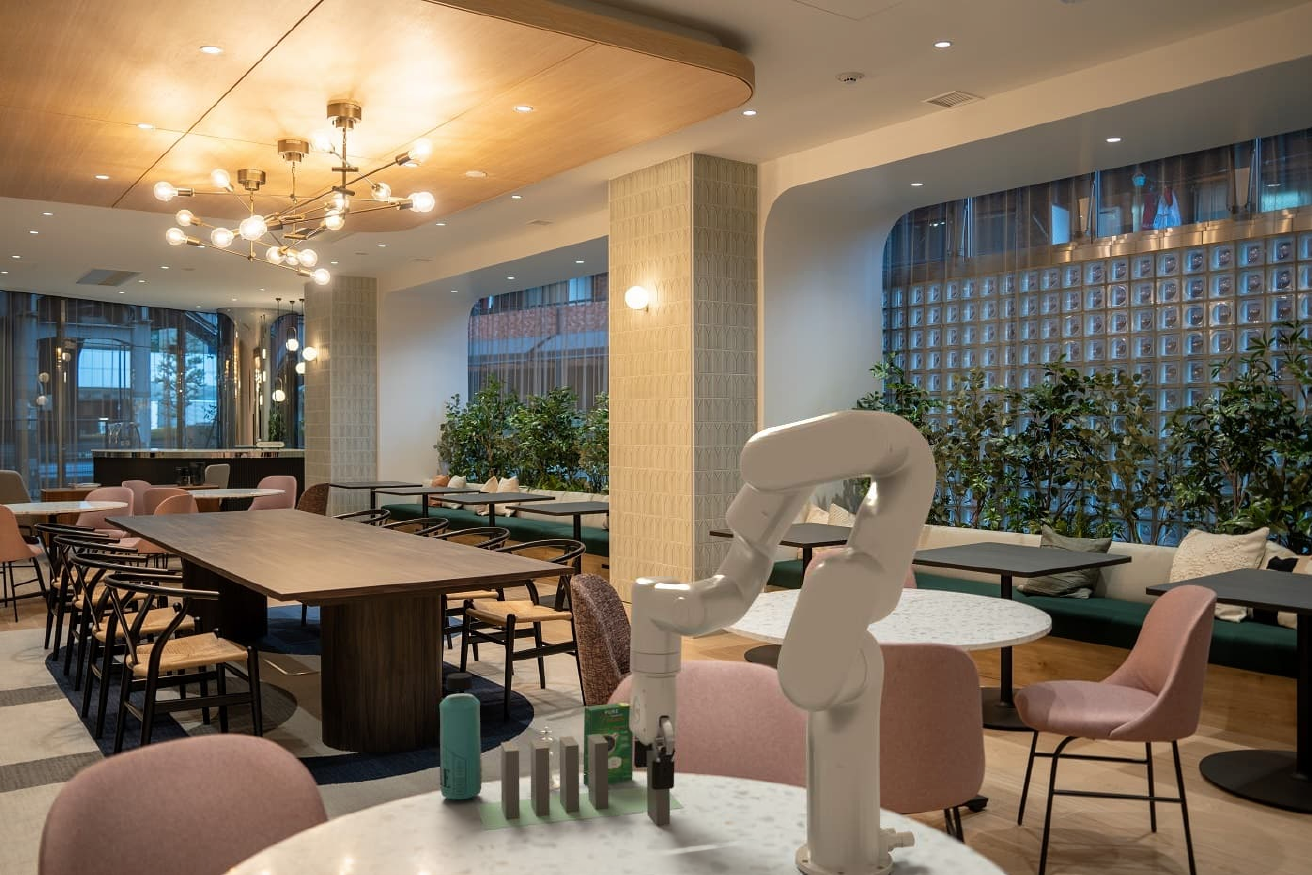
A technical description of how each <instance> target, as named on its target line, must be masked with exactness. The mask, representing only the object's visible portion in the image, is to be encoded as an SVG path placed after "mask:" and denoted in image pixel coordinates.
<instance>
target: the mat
mask: <svg viewBox="0 0 1312 875" xmlns="http://www.w3.org/2000/svg"><path fill="white" fill-rule="evenodd" d="M475 806H476V809H477V812H478V814H479V818H480V821H481V823H482V827H483V830H484V831H486V830H487V831H488V830H496V829H506V828H514V827H515V828H516V827H525V826H533V825H543V824H551V823H560V822H561V823H562V822H568V821H578V820H587V819H596V818H605V817H615V816H624V815H625V816H626V815H633V814H642V813H647V786H644V787H643V786H642V787H632V788H621V789H615V790H608V806H609V809H601V810H595V808H594V807H593V805H592V804H591V802H590V801H589V795H588V792H585V793H584V792H582V793H579V812H574V813H566V812H565V810H564V809H563V807H562V805H561V803H560V795H555V796H550V815H546V816H537V817H536V815H535V813H534V811H533V809H532V806H531V798H525V799H519V808H520V818H518V819H509V820H506V818H505V816H504V813H503V811H502V804H501V801H497V802H487V803H479V804H477V803H476V805H475ZM677 809H684V806H683V805H682V804H681V803H680V801H678V799H677V798H676V797H675V796H674V795H673V794H672V793H671V792H670V810H677Z"/></svg>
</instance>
